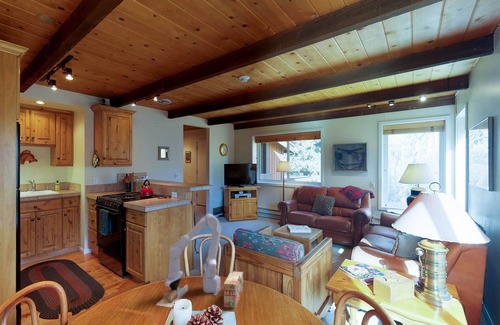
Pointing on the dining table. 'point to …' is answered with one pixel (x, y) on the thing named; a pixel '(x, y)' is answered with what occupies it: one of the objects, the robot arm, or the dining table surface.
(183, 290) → the chute
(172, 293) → the block
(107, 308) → the dining table surface
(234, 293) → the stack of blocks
